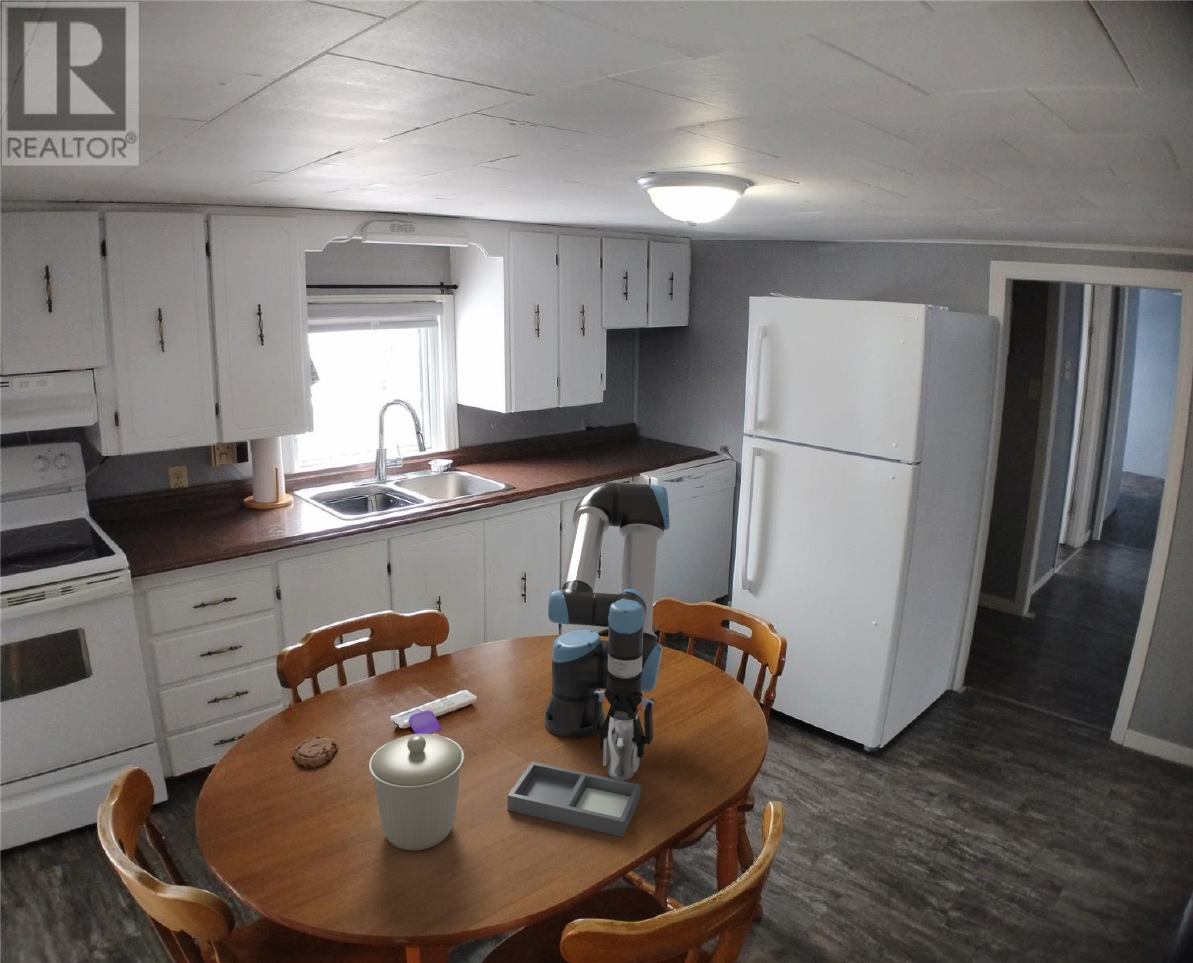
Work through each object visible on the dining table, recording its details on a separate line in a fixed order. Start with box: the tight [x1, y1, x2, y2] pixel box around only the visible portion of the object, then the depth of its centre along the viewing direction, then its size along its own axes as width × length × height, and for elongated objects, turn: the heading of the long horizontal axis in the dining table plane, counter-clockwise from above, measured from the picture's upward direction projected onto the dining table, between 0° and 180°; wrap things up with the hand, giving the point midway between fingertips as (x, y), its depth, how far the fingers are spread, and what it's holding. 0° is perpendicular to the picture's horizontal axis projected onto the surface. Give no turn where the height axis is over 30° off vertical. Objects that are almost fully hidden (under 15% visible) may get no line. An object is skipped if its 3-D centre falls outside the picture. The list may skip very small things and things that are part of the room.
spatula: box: [408, 709, 442, 736], centre depth 191 cm, size 24×7×2 cm, turn 33°
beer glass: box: [607, 711, 639, 782], centre depth 179 cm, size 7×7×15 cm
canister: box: [368, 733, 465, 851], centre depth 157 cm, size 18×18×21 cm
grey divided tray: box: [507, 761, 641, 838], centre depth 169 cm, size 25×13×4 cm, turn 72°
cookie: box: [291, 735, 339, 769], centre depth 185 cm, size 10×11×3 cm
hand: (621, 765), depth 181 cm, fingers closed on beer glass, 6 cm apart
